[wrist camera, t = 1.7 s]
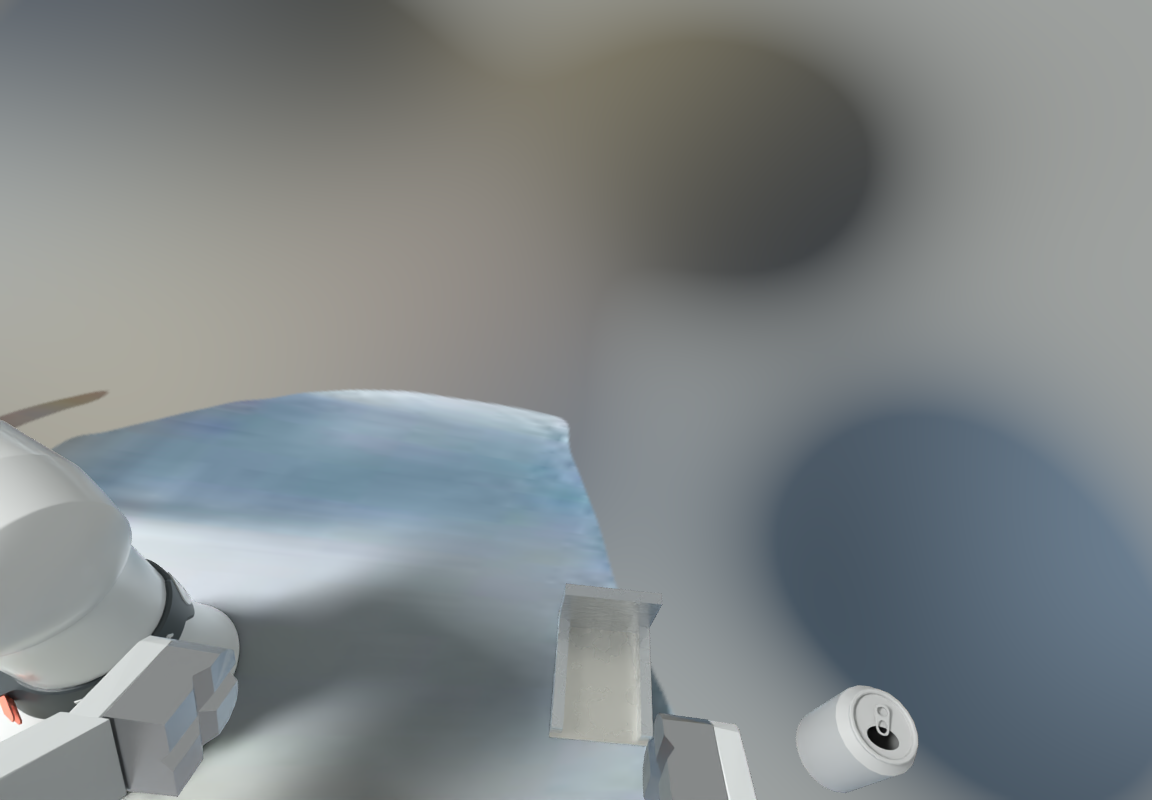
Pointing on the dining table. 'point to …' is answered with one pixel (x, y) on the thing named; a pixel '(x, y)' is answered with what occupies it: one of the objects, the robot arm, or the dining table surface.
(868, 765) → the can
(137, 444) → the dining table surface
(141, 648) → the robot arm
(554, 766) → the dining table surface
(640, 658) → the bracket
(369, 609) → the dining table surface
